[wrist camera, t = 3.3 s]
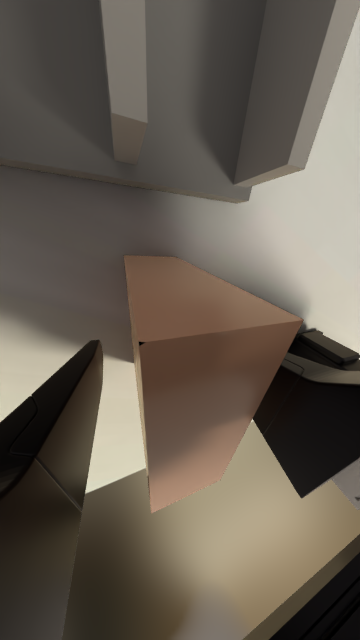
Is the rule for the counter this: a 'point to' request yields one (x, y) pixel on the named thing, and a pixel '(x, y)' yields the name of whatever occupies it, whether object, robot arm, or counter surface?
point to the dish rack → (168, 89)
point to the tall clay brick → (197, 369)
